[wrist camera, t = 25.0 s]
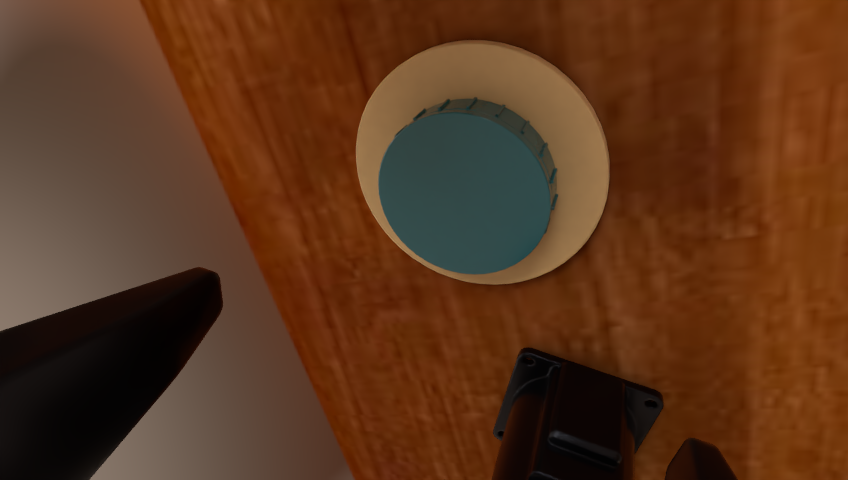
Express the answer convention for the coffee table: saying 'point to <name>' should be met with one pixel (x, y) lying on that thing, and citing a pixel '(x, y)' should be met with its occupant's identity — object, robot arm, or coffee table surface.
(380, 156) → the coaster
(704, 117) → the coffee table surface
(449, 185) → the jar lid
